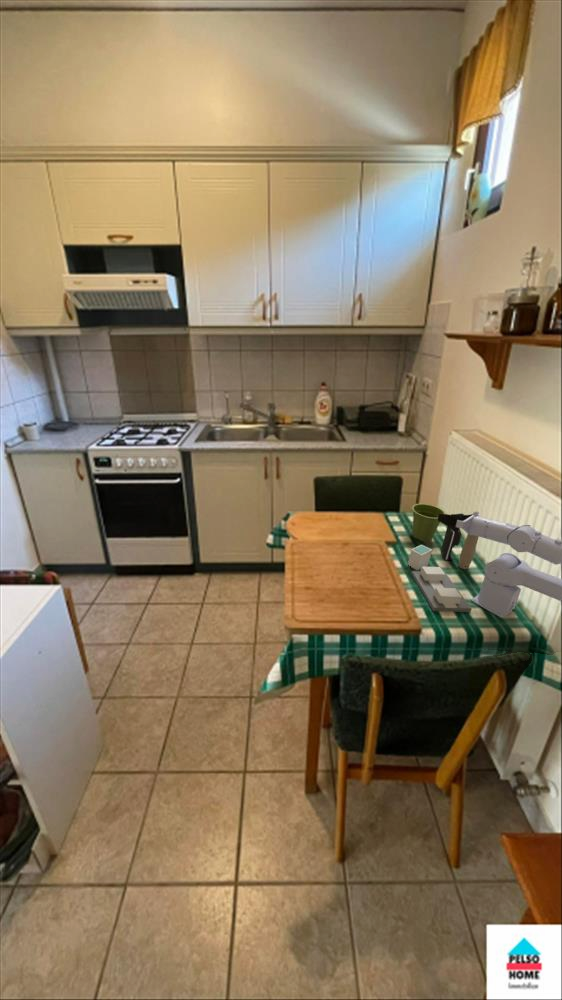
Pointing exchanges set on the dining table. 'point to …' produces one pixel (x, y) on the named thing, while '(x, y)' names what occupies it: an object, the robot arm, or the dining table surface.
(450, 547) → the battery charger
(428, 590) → the board
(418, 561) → the module
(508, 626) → the dining table surface
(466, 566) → the handle
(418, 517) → the plant pot
